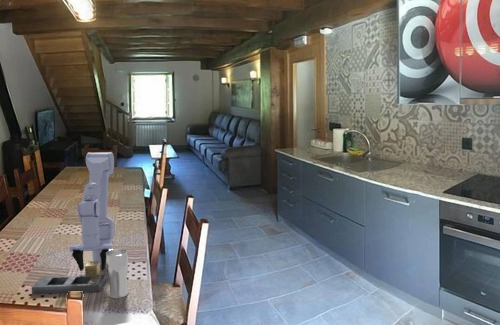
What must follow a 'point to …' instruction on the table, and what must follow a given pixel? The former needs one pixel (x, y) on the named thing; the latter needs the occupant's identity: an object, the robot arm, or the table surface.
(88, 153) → the robot arm
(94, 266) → the block
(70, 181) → the table surface
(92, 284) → the rail
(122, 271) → the beer glass
